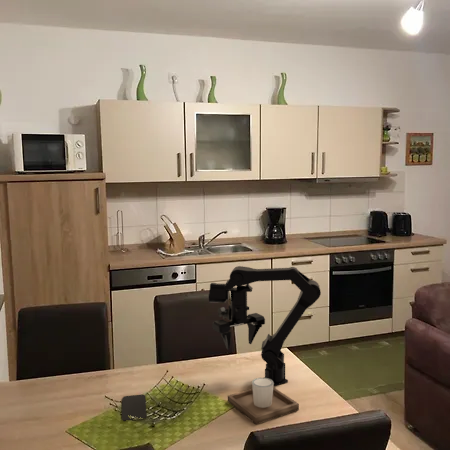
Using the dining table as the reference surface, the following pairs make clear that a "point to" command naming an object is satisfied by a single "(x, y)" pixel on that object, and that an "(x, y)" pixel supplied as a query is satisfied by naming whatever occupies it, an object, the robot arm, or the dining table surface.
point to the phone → (133, 407)
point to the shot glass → (262, 392)
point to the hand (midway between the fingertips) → (239, 346)
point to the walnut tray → (257, 414)
